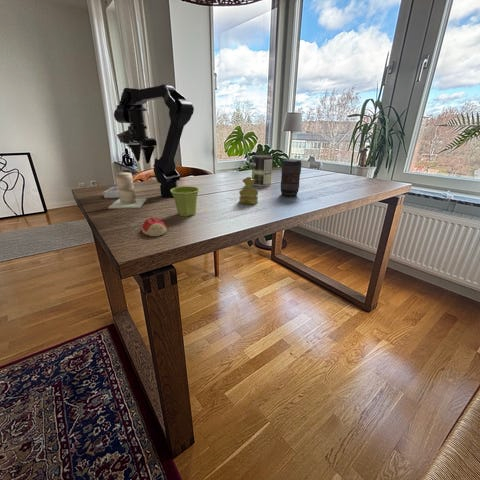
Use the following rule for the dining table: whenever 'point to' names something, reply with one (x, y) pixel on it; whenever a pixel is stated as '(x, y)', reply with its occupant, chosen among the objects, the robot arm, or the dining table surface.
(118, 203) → the sage board
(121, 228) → the dining table surface
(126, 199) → the maple peg
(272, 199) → the dining table surface
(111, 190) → the grey square frame
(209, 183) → the dining table surface
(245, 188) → the olive yellow tied sack
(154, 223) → the red and white dome
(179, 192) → the plant pot
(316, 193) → the dining table surface
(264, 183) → the coffee can
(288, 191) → the dark brown cylinder
